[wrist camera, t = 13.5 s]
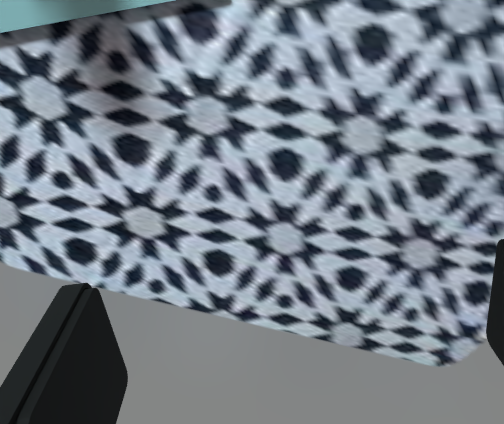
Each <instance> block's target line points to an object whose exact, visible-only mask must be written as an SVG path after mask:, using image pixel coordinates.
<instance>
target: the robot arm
mask: <svg viewBox="0 0 504 424" xmlns="http://www.w3.org/2000/svg"><path fill="white" fill-rule="evenodd" d="M486 334H487V339H488V342H489V344H490V346H491V348H492V349H493V351H494V352H495V354H496V355H497V356H498V358H499V360H500V361H501V362H502V364H503V365H504V239H501V240H499V242H498V244H497V250H496V258H495V266H494V274H493V281H492V289H491V297H490V305H489V312H488V320H487V328H486ZM127 382H128V376H127V370H126V366H125V363H124V361H123V358H122V355H121V352H120V349H119V346H118V343H117V341H116V338H115V335H114V332H113V329H112V327H111V324H110V320H109V318H108V315H107V312H106V309H105V306H104V303H103V300H102V297H101V295H100V292H99V290H98V289H97V288H92V287H91V286H90V285H89V284H88V283H81V284H73V285H65V286H62V287H61V288H60V289H59V291H58V293H57V295H56V296H55V298H54V299H53V301H52V303H51V304H50V306H49V308H48V309H47V311H46V313H45V314H44V316H43V318H42V319H41V321H40V323H39V324H38V326H37V327H36V329H35V331H34V332H33V334H32V336H31V337H30V339H29V341H28V342H27V344H26V346H25V347H24V349H23V351H22V352H21V354H20V356H19V357H18V359H17V360H16V362H15V364H14V365H13V367H12V369H11V371H10V372H9V374H8V375H7V377H6V379H5V380H4V382H3V384H2V385H1V387H0V424H116V421H117V418H118V415H119V411H120V407H121V404H122V401H123V398H124V394H125V391H126V387H127Z"/></svg>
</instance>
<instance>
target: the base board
mask: <svg viewBox="0 0 504 424" xmlns="http://www.w3.org/2000/svg"><path fill="white" fill-rule="evenodd" d="M169 1H174V0H0V33H2V32H8V31H13V30H18V29H24V28H29V27H35V26H40V25H45V24H51V23H56V22H61V21H67V20H72V19H78V18H83V17H88V16H94V15H99V14H104V13H110V12H115V11H120V10H126V9H131V8H137V7H142V6H147V5H153V4H158V3H163V2H169Z"/></svg>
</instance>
